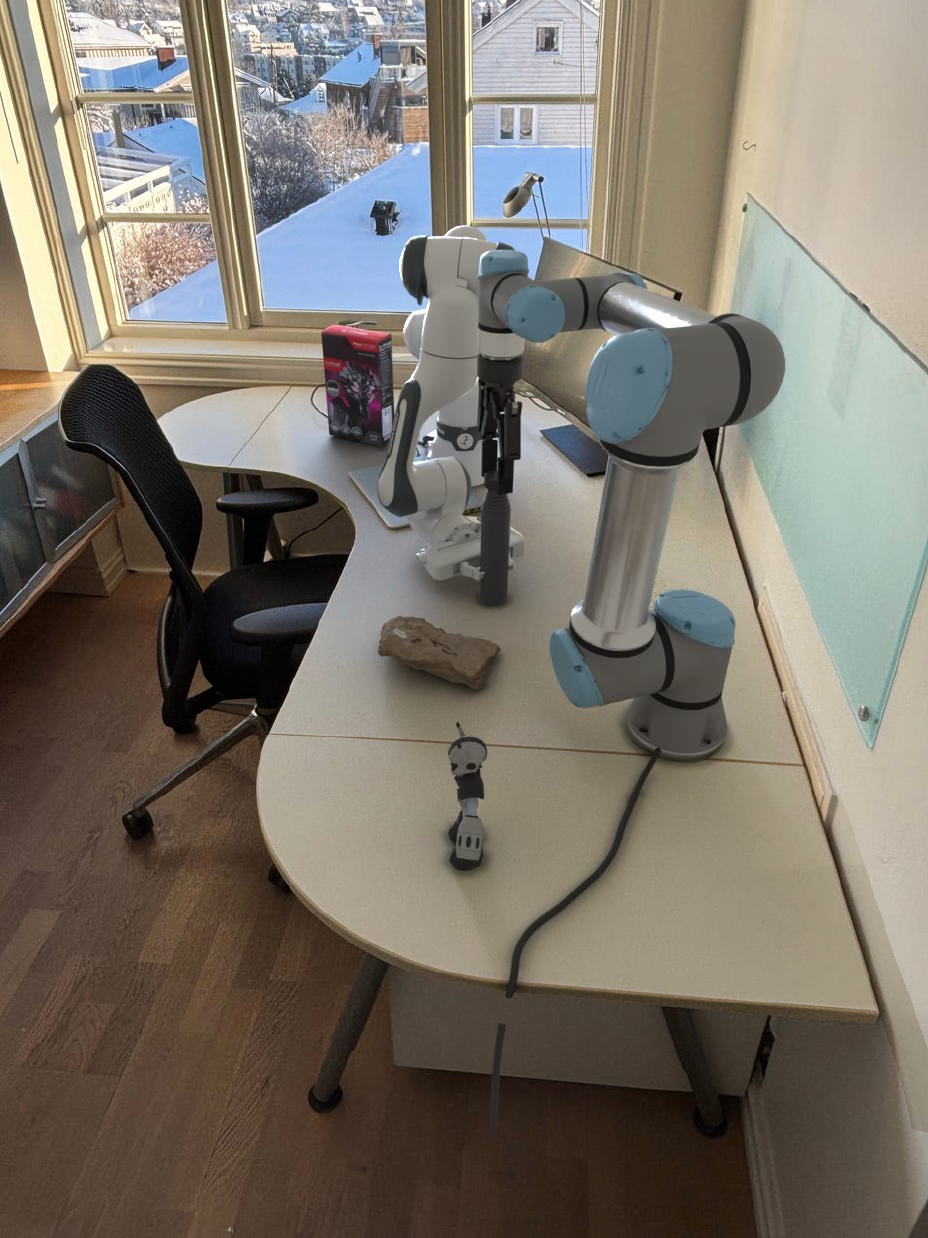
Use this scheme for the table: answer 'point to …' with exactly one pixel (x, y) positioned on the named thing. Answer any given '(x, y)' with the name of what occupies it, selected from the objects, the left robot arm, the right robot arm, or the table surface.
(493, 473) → the cap
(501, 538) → the bottle
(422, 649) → the stone
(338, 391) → the graphics card box
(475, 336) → the left robot arm
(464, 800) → the robot
